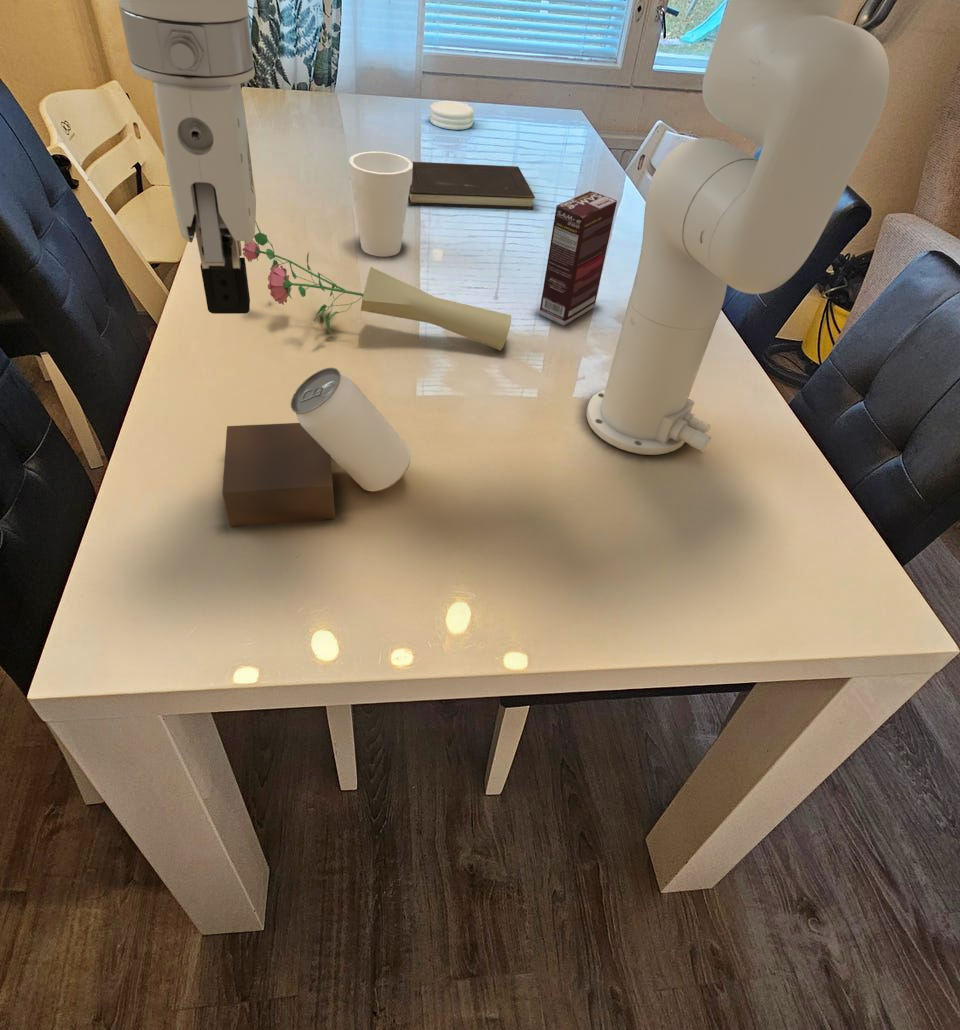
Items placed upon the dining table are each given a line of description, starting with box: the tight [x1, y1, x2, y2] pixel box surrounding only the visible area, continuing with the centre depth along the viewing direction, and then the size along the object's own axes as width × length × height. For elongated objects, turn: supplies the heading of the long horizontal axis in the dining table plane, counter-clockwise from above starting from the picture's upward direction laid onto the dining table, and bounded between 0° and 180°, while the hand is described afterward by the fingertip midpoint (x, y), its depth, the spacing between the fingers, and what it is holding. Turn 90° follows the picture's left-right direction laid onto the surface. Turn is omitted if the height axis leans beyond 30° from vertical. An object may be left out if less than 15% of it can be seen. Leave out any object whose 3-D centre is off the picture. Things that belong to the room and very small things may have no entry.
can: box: [290, 367, 412, 492], centre depth 69 cm, size 6×6×12 cm
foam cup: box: [348, 150, 413, 257], centre depth 109 cm, size 10×9×13 cm
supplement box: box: [538, 190, 618, 326], centre depth 99 cm, size 9×5×16 cm, turn 141°
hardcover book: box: [408, 161, 536, 210], centre depth 133 cm, size 16×23×2 cm
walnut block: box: [221, 422, 336, 527], centre depth 71 cm, size 10×10×4 cm
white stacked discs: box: [429, 100, 475, 131], centre depth 161 cm, size 10×10×4 cm
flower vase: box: [241, 220, 512, 351], centre depth 93 cm, size 12×12×35 cm
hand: (229, 308), depth 57 cm, fingers closed
